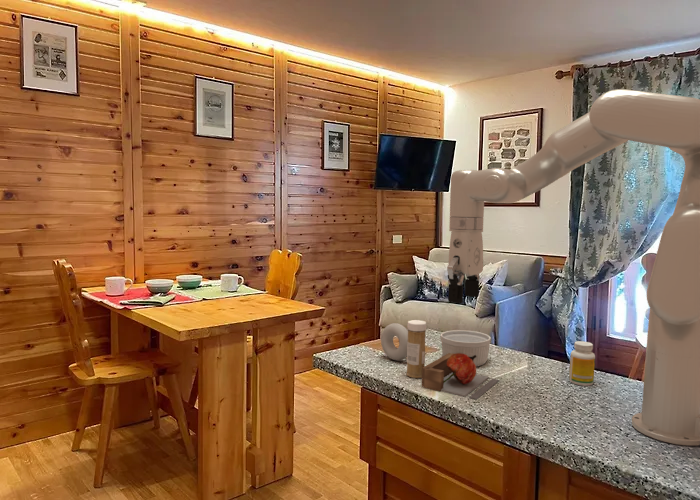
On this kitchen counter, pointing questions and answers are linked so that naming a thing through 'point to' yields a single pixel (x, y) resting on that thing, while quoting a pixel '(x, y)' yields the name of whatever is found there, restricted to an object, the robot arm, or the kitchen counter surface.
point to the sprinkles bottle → (416, 348)
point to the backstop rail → (436, 373)
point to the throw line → (484, 389)
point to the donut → (388, 343)
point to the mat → (462, 385)
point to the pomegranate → (462, 367)
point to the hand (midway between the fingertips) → (463, 299)
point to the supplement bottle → (582, 364)
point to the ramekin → (466, 344)
